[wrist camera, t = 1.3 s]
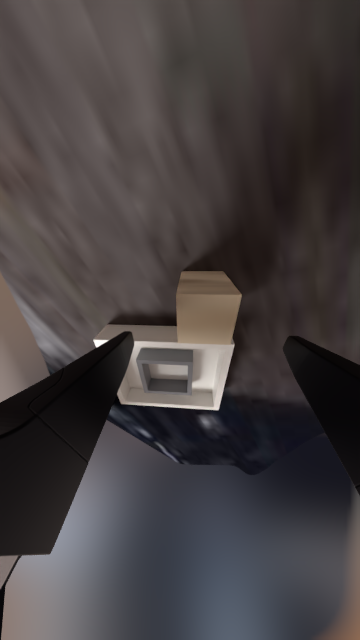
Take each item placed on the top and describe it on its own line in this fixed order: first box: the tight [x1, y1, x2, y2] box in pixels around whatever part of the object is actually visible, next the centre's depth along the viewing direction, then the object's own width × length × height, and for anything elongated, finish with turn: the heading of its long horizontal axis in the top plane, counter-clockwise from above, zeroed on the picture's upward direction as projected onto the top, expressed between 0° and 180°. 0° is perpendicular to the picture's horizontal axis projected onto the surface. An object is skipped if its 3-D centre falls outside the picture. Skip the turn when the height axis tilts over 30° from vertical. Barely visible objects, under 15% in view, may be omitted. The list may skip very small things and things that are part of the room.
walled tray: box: [93, 324, 235, 410], centre depth 20 cm, size 13×15×3 cm
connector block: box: [176, 271, 242, 345], centre depth 12 cm, size 4×4×6 cm
